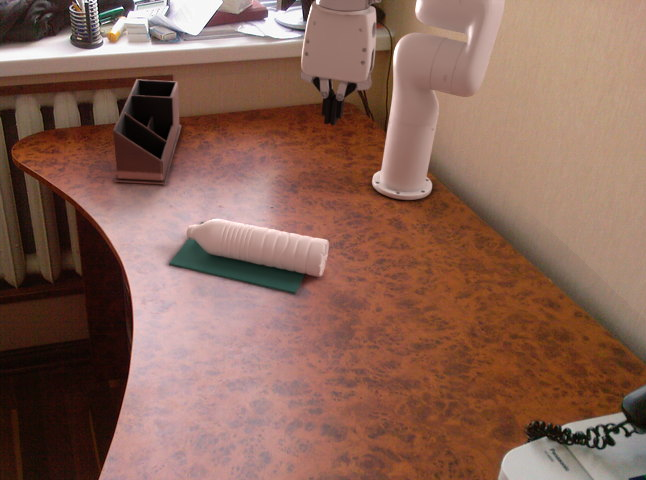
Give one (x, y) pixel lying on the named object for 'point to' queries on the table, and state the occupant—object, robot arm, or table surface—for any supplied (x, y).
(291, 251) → the water bottle
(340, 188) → the table surface
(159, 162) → the desk organizer
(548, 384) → the table surface
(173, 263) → the mat
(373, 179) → the robot arm
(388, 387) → the table surface
